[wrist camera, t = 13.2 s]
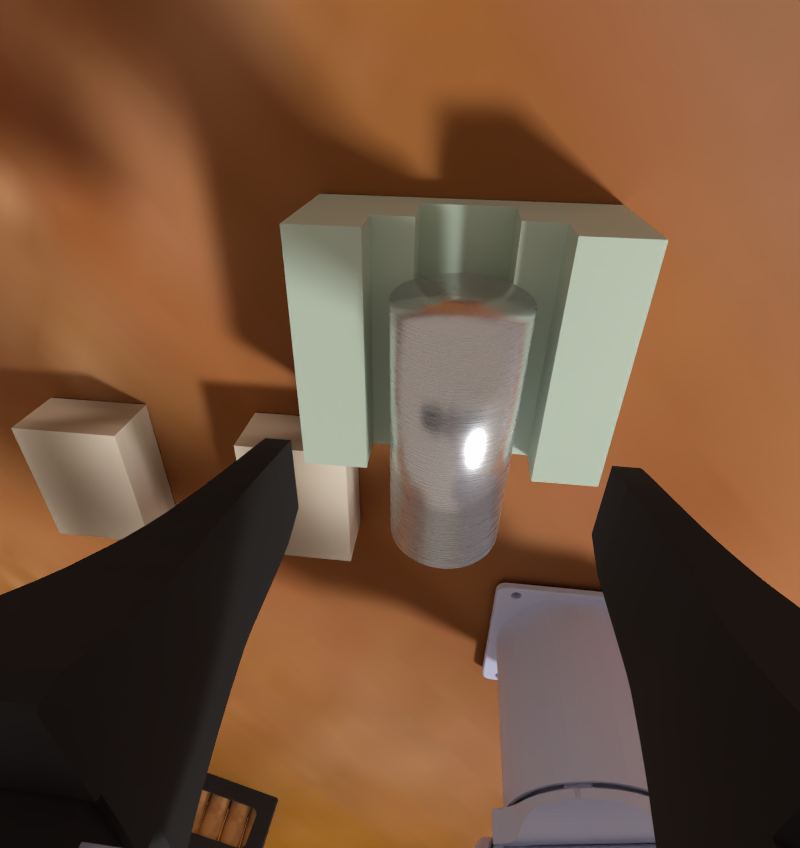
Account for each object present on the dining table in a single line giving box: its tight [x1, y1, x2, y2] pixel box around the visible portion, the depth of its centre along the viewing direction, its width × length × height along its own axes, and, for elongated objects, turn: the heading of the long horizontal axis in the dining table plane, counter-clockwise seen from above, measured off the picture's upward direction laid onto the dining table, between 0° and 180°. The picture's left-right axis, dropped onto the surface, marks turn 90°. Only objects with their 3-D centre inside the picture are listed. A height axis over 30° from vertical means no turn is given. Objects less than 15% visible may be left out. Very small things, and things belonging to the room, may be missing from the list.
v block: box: [280, 194, 668, 487], centre depth 18 cm, size 10×8×4 cm
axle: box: [389, 273, 537, 569], centre depth 17 cm, size 4×9×4 cm, turn 179°
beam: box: [11, 398, 360, 561], centre depth 24 cm, size 14×6×2 cm, turn 89°
